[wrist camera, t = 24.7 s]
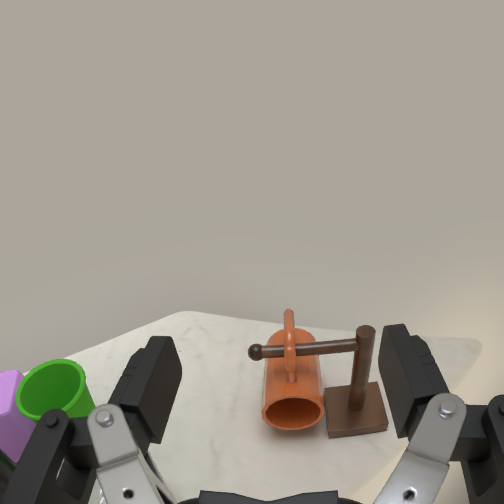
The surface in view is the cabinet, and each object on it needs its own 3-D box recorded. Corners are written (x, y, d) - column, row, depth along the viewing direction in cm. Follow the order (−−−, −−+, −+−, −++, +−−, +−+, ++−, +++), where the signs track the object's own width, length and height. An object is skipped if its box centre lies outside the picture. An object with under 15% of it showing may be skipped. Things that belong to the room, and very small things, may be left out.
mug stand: (375, 389, 34) (389, 306, 29) (386, 430, 28) (409, 349, 23) (261, 399, 36) (248, 319, 31) (258, 442, 30) (242, 365, 25)
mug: (316, 362, 37) (323, 428, 28) (268, 366, 38) (264, 431, 29) (316, 293, 33) (327, 359, 24) (259, 297, 34) (252, 364, 25)
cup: (62, 477, 24) (7, 421, 20) (65, 423, 32) (23, 365, 28) (128, 470, 27) (81, 412, 22) (123, 414, 35) (87, 351, 30)
